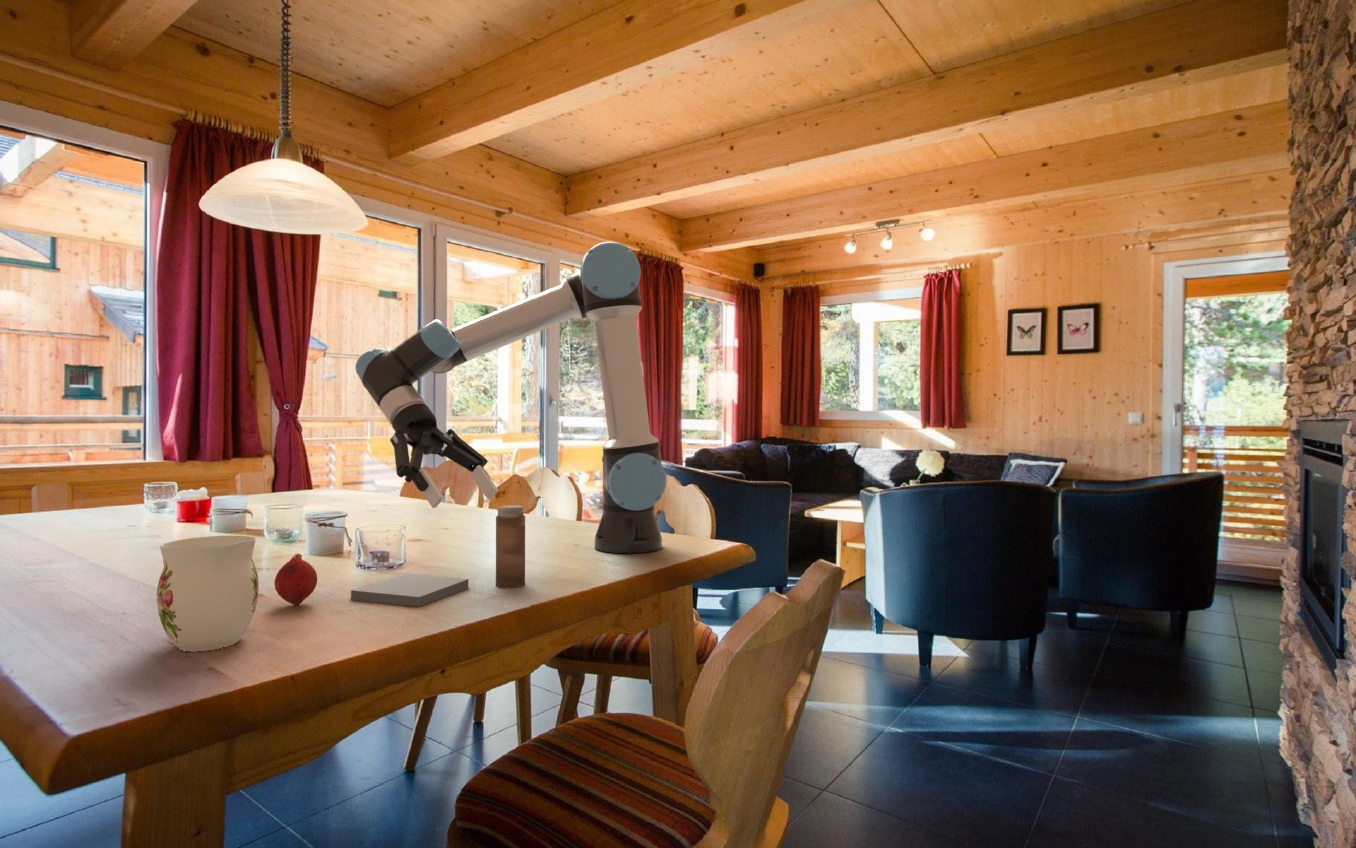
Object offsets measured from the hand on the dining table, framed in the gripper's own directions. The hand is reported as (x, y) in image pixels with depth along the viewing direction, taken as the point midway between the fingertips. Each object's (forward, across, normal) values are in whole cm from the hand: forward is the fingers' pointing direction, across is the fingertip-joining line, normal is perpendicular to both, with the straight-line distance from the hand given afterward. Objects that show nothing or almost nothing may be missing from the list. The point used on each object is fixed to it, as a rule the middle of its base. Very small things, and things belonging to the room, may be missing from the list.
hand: (467, 499), depth 131 cm
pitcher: (+9, +44, -12) cm, 46 cm away
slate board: (+10, +13, -10) cm, 19 cm away
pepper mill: (+17, 0, -3) cm, 18 cm away
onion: (+4, +27, -17) cm, 32 cm away
